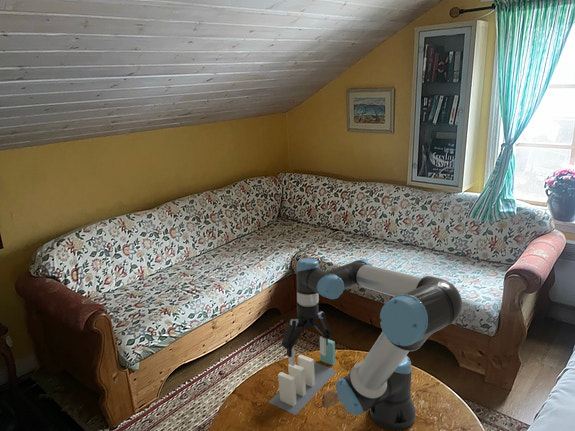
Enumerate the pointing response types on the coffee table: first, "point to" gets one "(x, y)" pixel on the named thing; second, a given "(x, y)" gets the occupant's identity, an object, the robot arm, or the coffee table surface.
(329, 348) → the teal domino
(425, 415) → the coffee table surface
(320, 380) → the slate runway
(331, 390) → the shard
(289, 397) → the ivory domino
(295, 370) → the ivory domino
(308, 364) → the ivory domino
